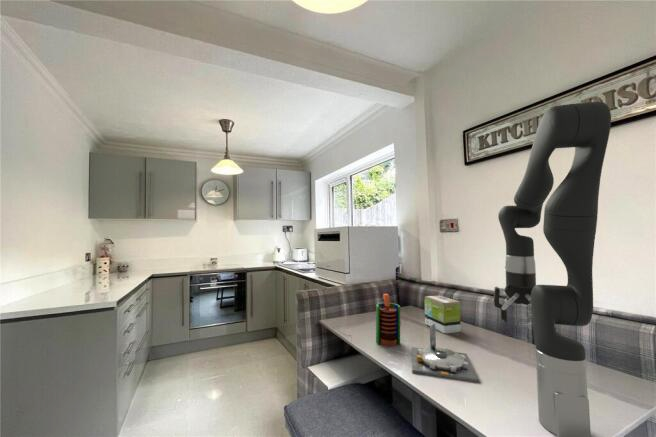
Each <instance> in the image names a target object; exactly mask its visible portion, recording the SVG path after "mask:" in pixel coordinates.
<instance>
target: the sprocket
mask: <svg viewBox="0 0 656 437" xmlns="http://www.w3.org/2000/svg"><path fill="white" fill-rule="evenodd" d="M436 332H437V331H436V329H435V324H430V326H429V346H427V347H423V348H424V349H417V354H419V355H417V360H418V362H423V363H424V364H426V365H428V366H429V368H432V369H436V368H437V369H442V370H450V371H451V372H456V370H459V369H462V368H465V369H467V368H468V362H465V361H466V356H464V355H463V354H458V353H459V352H458V353H456V351H453V350H452V349H451V348H448V347H445V348H442V347H436V346H437V345H436V343H437V342H436V340H437V339H436V338H437V336H436Z"/></svg>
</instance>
